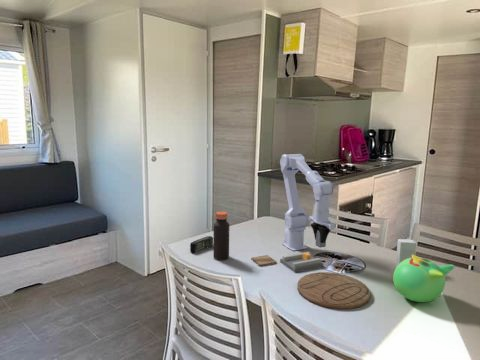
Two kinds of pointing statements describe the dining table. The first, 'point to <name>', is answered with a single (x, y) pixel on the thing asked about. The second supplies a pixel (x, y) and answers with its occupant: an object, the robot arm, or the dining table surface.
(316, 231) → the brushed metal block
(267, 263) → the cork coaster
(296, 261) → the box
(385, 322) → the dining table surface
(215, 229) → the bottle
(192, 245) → the mobile phone
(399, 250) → the skincare box
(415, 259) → the toy bird
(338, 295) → the trivet
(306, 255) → the breaker switch
